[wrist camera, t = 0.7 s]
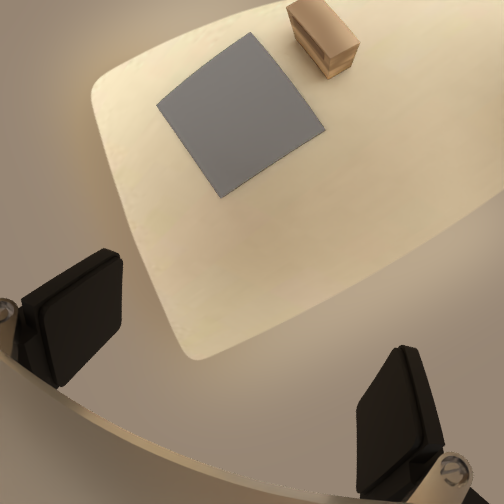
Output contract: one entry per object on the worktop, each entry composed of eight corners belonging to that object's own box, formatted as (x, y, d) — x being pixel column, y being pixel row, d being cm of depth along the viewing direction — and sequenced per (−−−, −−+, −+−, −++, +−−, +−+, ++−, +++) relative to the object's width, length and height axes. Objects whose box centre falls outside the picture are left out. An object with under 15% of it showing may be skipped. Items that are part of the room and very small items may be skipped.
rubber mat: (251, 32, 28) (250, 31, 28) (325, 130, 31) (325, 129, 30) (157, 105, 33) (156, 105, 33) (221, 198, 36) (220, 198, 35)
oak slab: (317, 25, 27) (315, -9, 18) (350, 66, 28) (360, 42, 19) (294, 38, 28) (285, 7, 19) (327, 79, 29) (329, 59, 20)
